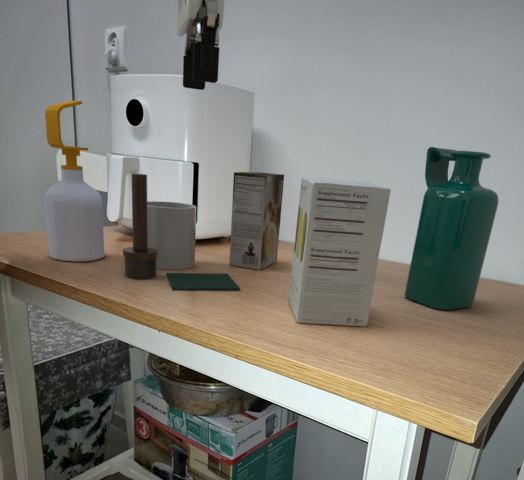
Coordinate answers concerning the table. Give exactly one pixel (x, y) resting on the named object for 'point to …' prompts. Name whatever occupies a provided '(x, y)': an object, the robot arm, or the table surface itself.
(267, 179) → the coffee box
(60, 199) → the soap bottle
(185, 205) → the tumbler
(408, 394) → the table surface
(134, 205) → the brush
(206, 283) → the mat
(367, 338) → the table surface
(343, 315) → the supplement box
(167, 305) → the table surface
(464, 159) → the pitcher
